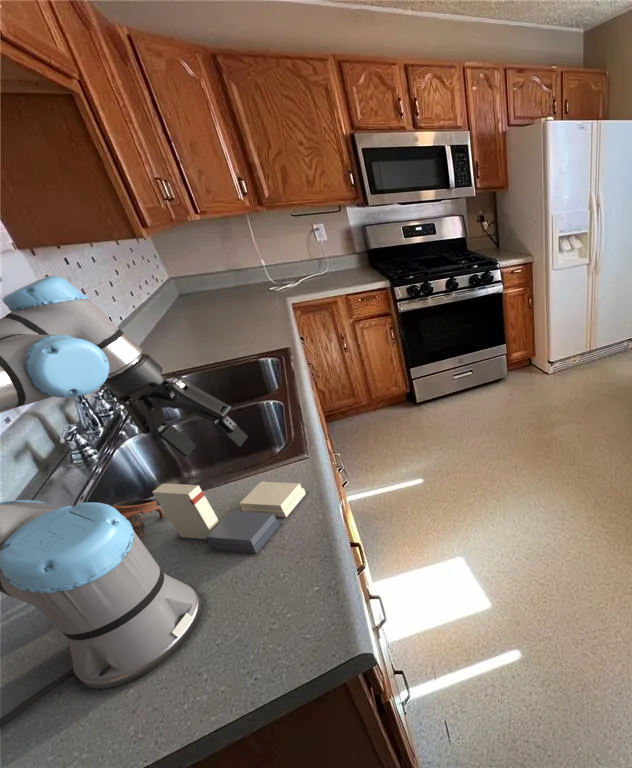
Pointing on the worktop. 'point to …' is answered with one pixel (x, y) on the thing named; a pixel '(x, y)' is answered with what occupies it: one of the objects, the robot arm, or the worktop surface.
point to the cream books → (273, 498)
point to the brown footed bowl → (137, 512)
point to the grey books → (242, 532)
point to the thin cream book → (187, 509)
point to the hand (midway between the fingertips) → (216, 446)
